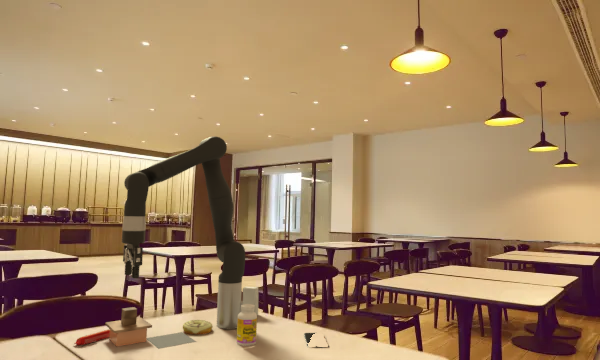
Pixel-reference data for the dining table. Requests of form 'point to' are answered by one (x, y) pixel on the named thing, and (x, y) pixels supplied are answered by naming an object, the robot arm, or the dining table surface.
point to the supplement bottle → (247, 325)
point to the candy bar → (93, 337)
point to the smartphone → (308, 337)
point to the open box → (128, 337)
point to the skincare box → (251, 297)
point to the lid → (128, 322)
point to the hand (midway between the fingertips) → (131, 276)
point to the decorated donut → (197, 327)
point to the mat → (170, 340)
